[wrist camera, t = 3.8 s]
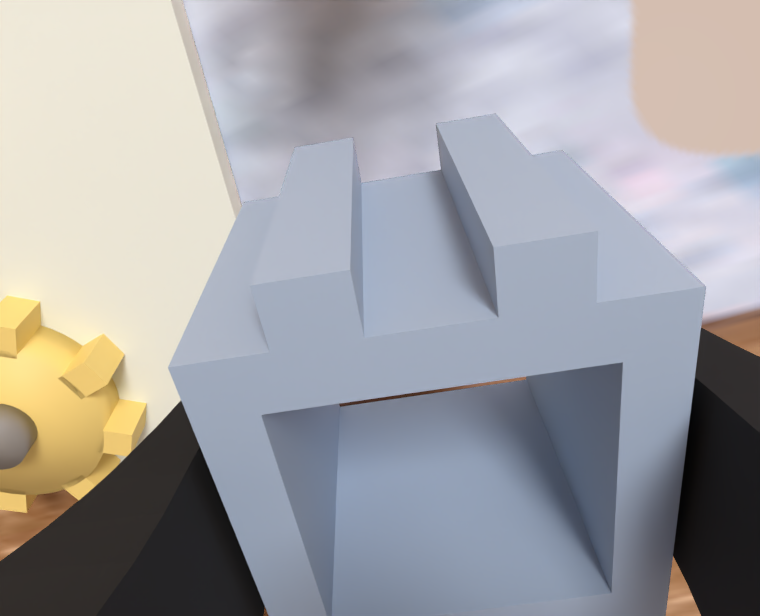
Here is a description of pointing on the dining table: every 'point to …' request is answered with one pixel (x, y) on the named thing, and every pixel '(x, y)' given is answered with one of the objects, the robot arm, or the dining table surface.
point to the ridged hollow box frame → (444, 370)
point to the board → (99, 231)
